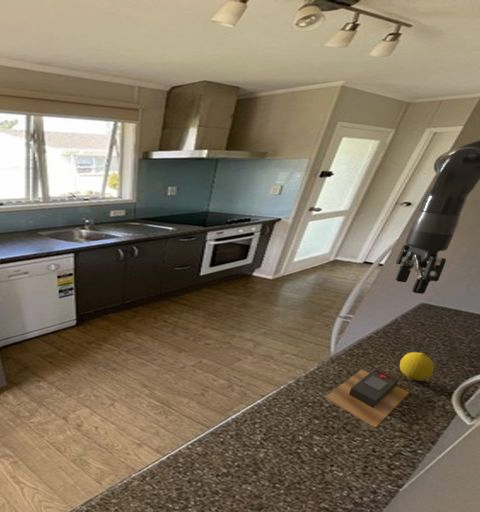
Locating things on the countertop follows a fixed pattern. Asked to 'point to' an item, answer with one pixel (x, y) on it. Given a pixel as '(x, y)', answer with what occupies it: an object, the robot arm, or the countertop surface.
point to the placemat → (361, 409)
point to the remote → (373, 387)
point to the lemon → (416, 366)
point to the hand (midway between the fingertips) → (408, 286)
